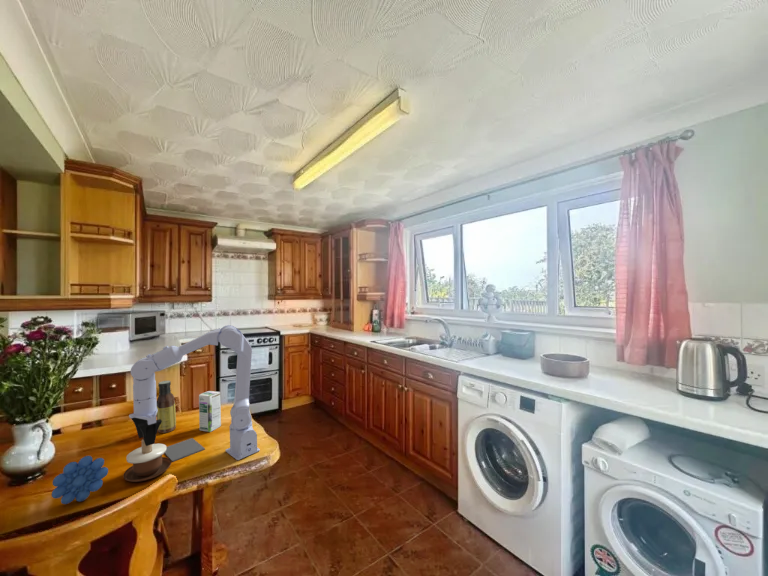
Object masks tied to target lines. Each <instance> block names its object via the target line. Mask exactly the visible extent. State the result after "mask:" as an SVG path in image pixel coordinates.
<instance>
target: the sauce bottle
mask: <svg viewBox="0 0 768 576" xmlns="http://www.w3.org/2000/svg"><path fill="white" fill-rule="evenodd" d="M157 385H158V388H159V389H158V393H159V394H158V395H157V396H158V397H157V398H156V400H157V409H158V412H157V414H156V420H159V419H161V420H162V422H161V424H160V426H159V428H158V431H157V433H161V434H166V433H170V432H173V431H174V430H175V429H176V426H177V415H176V403H175V402H176V401H175V396H174V394H173V393H172V392H171V391H172V390H171V380H162V381H160V382H158V384H157Z"/></svg>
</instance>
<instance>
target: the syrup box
mask: <svg viewBox="0 0 768 576" xmlns="http://www.w3.org/2000/svg"><path fill="white" fill-rule="evenodd" d="M221 403H222V402H221V391H213V390H208V391H205V392H202V393H200V394H199V395H198V408H199V409H198V412H199V413H198V414H199V419H198V420H199V422H198V424H199V427H198V428H199V431H203V432H208V433H212V432H213V431H216V430H217V429H218V428H220V427H221V426H222V416H221V415H222V412H221Z"/></svg>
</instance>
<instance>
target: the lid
mask: <svg viewBox="0 0 768 576" xmlns="http://www.w3.org/2000/svg"><path fill="white" fill-rule="evenodd" d="M167 447H168V446H167V445H166V444H164V443H154V444H151V445H148V446H146V445H145V442H144V438H141V446H140V447H138V448H136V449H134V450H132V451H131V452H129V453H128V454H127V455H126V462H127V463H128V464H133V463H143V462H147V461H150V460H153V459H155V458H158V457H160V456H161V455H162V456H163V455H165V452H166V450H167Z"/></svg>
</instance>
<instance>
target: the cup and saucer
mask: <svg viewBox="0 0 768 576" xmlns="http://www.w3.org/2000/svg"><path fill="white" fill-rule="evenodd" d="M171 465H172V461H171V460H170V459H169V458H168V457H164V456H163V455H161V456H160V457H158V458H155V459H153V460H150V461H147V462H143V463H132V466H130V467H128V468H127V469H126V470H125V471H124V473H123V479H124V480H125V481H126V482H127V481H128V482H132V483H138V482H146V481H149V480H151V479H154V478H156V477H158V476H160V475H162V474H163V473H165V472H166V471H167V470H168V469H169V468H170V466H171Z"/></svg>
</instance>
